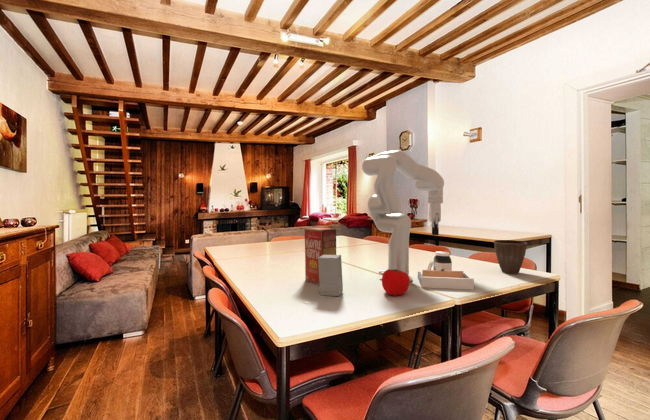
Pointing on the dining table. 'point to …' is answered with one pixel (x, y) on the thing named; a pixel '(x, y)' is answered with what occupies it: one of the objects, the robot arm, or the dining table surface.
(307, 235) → the food packaging
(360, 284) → the dining table surface
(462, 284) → the white rectangular tray
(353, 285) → the dining table surface
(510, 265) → the plant pot
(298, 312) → the dining table surface
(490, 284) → the dining table surface
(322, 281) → the skincare box
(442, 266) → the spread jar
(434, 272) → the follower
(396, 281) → the tomato
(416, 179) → the robot arm
